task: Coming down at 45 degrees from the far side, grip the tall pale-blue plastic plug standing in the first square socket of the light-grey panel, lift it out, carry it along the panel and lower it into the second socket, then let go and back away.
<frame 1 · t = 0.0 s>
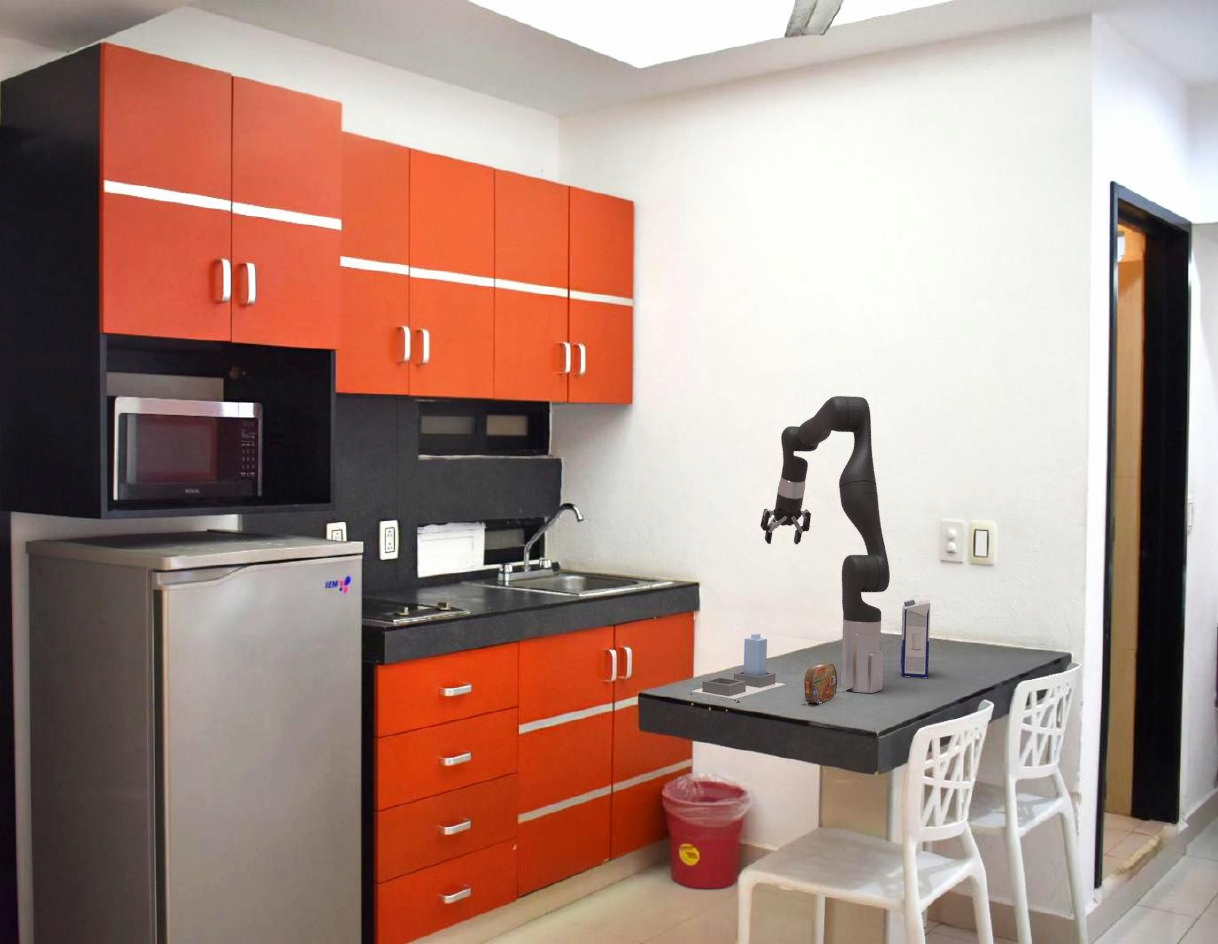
hand: (782, 543, 351), 31 cm above the table, tool tilted 20°, fingers open, 8 cm apart
tin: (819, 701, 281), on the table
panel: (739, 691, 289), on the table
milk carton: (913, 676, 317), on the table
plug: (754, 683, 295), point 1 cm above the table, touching panel
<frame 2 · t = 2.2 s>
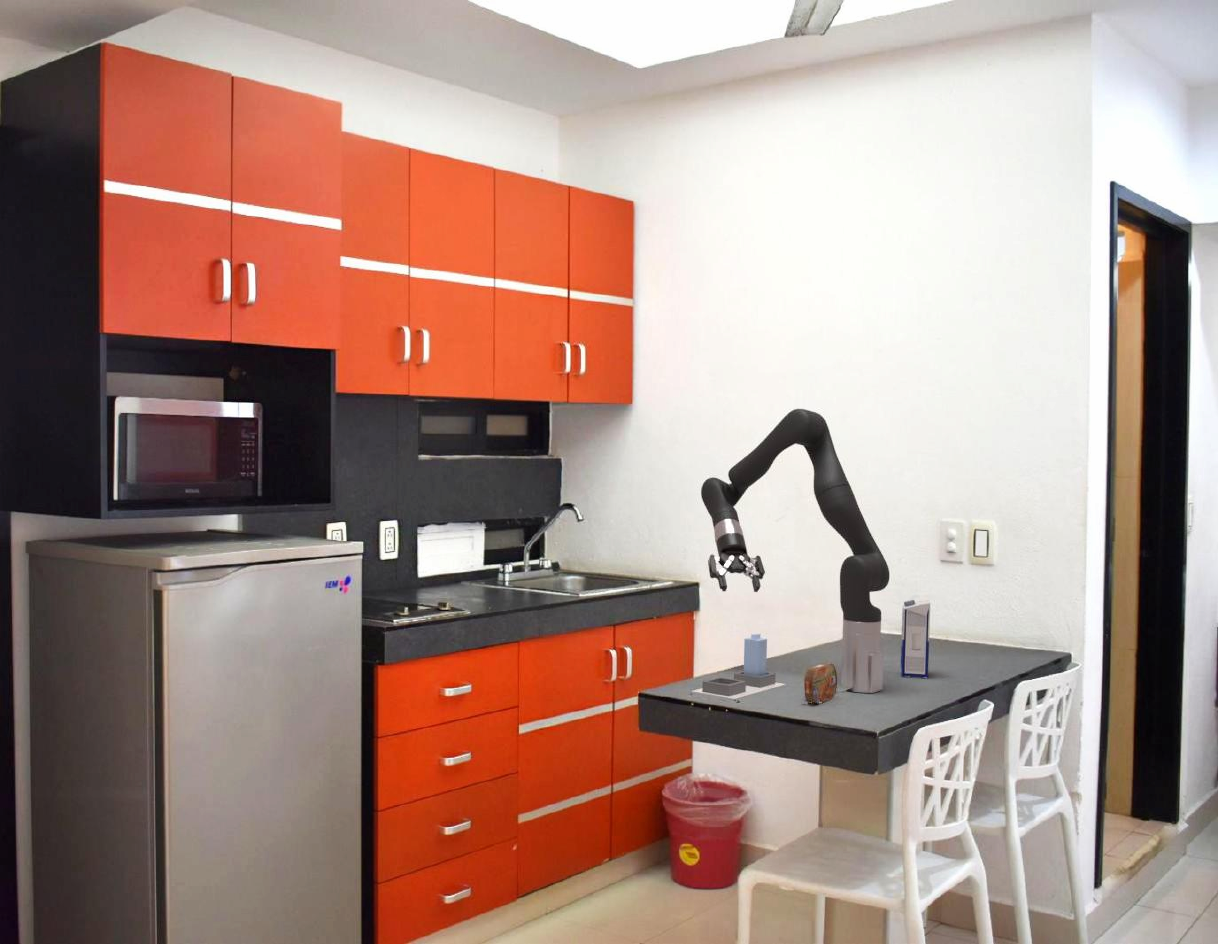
hand: (741, 590, 307), 23 cm above the table, tool tilted 45°, fingers open, 8 cm apart
nothing on the table moved.
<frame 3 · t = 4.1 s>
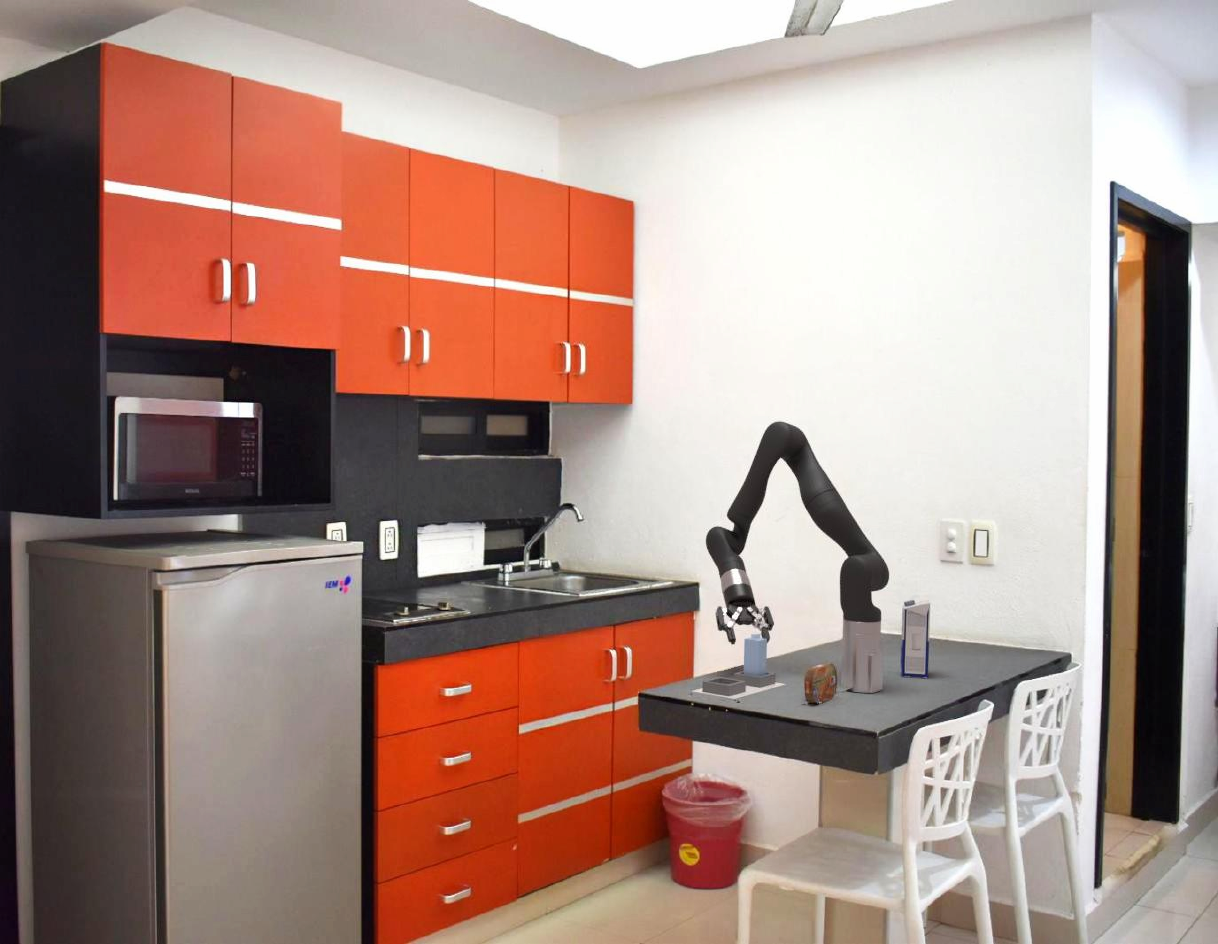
hand: (750, 642, 298), 10 cm above the table, tool tilted 45°, fingers open, 8 cm apart
nothing on the table moved.
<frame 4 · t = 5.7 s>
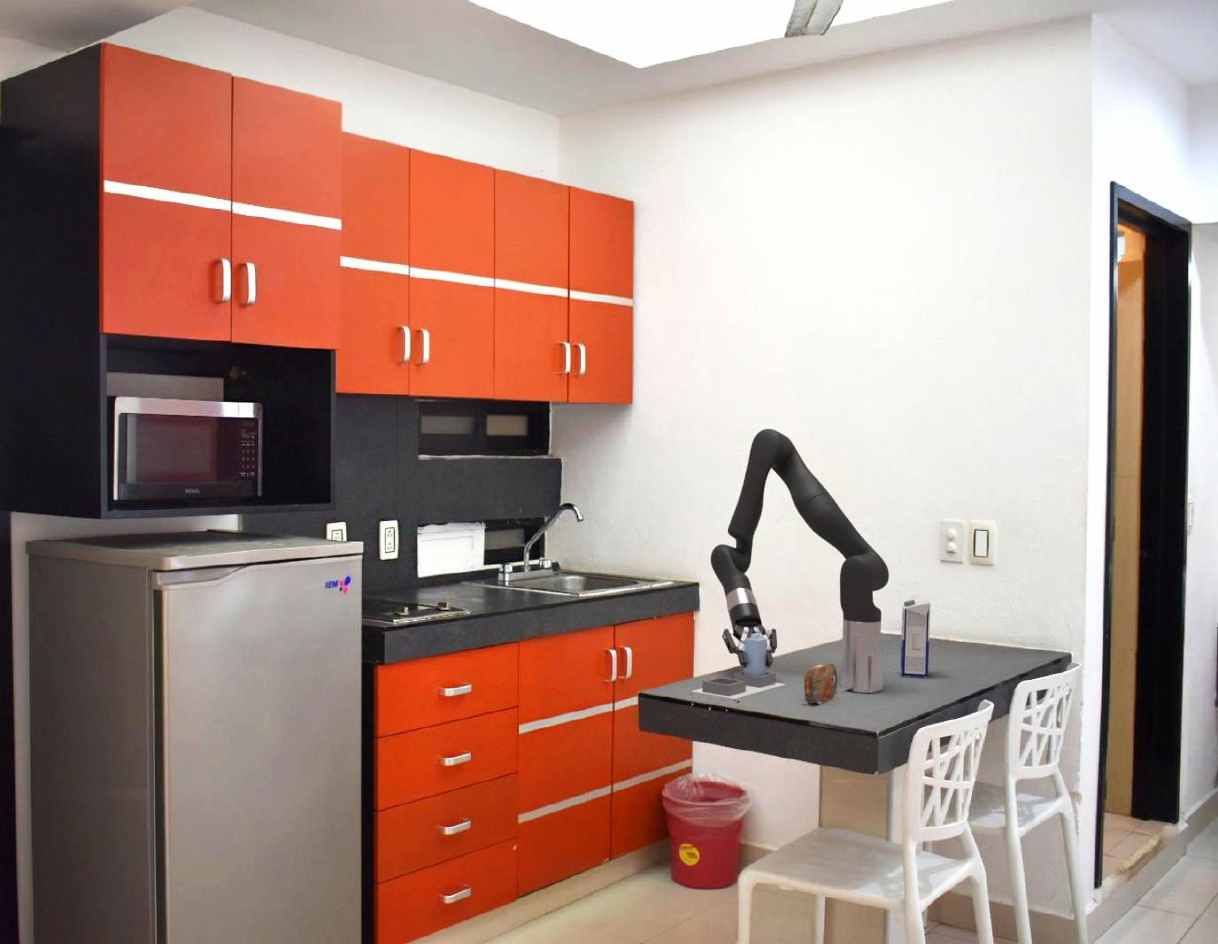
hand: (757, 665, 293), 6 cm above the table, tool tilted 45°, fingers closed on plug, 5 cm apart
plug: (754, 683, 295), point 1 cm above the table, touching gripper, panel
everything else where it was.
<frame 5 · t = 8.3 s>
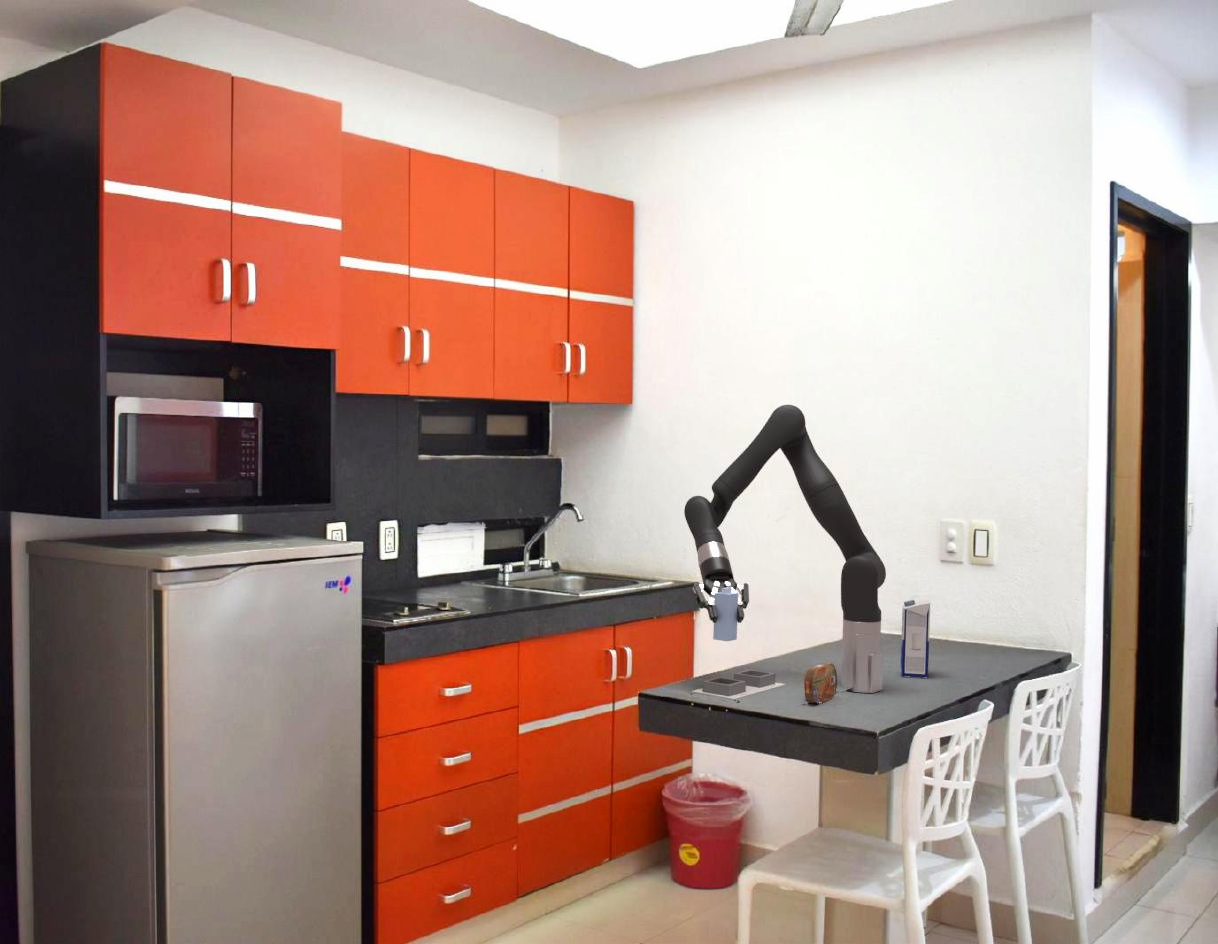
hand: (728, 620, 282), 18 cm above the table, tool tilted 45°, fingers closed on plug, 5 cm apart
plug: (724, 639, 283), point 13 cm above the table, touching gripper
everything else where it was.
when the fingers open (6 cm above the table, at t = 11.3 s): plug stays where it is, resting on panel.
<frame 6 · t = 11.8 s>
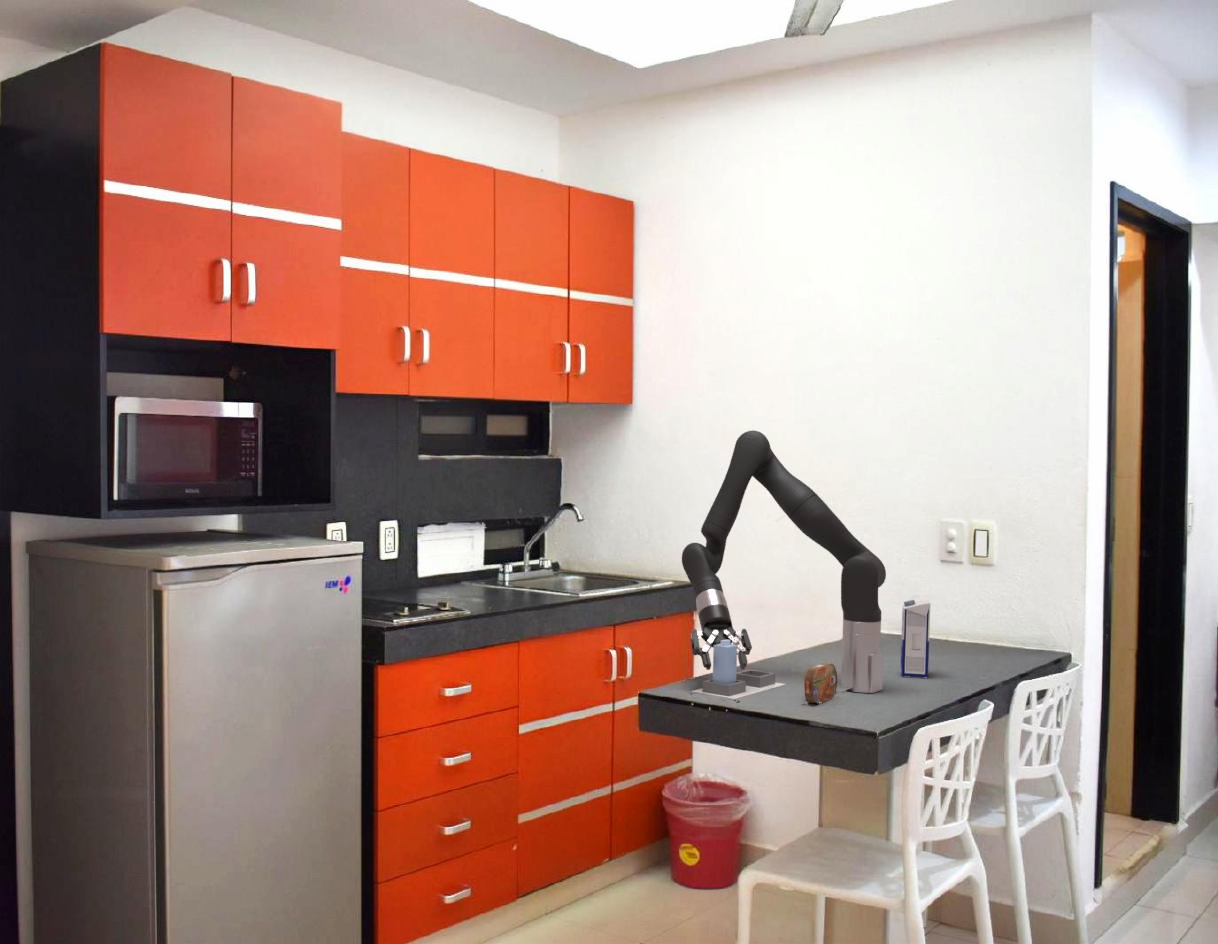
hand: (726, 667, 282), 7 cm above the table, tool tilted 45°, fingers open, 8 cm apart
plug: (724, 691, 284), point 1 cm above the table, touching panel
everything else where it was.
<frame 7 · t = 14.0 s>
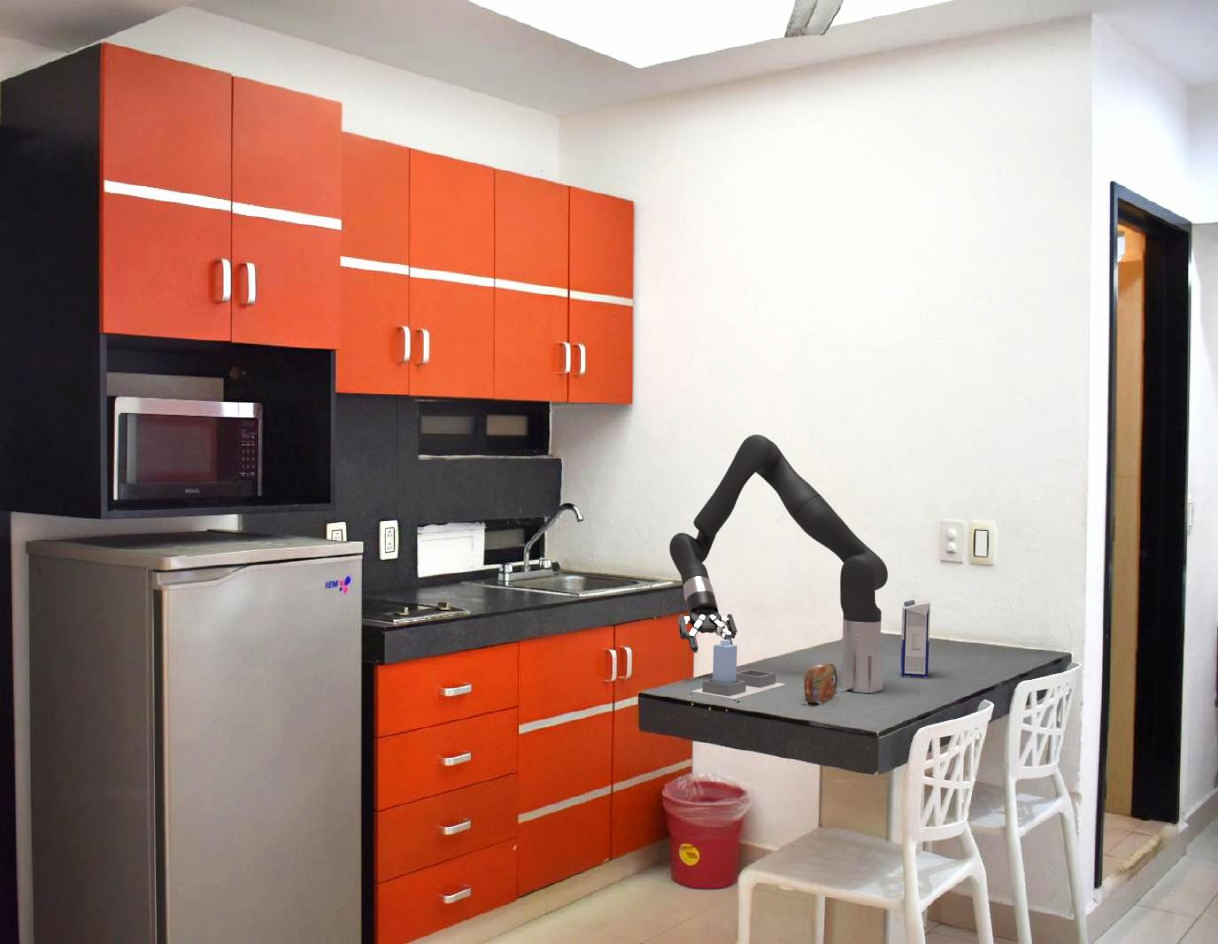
hand: (712, 650, 295), 9 cm above the table, tool tilted 45°, fingers open, 8 cm apart
nothing on the table moved.
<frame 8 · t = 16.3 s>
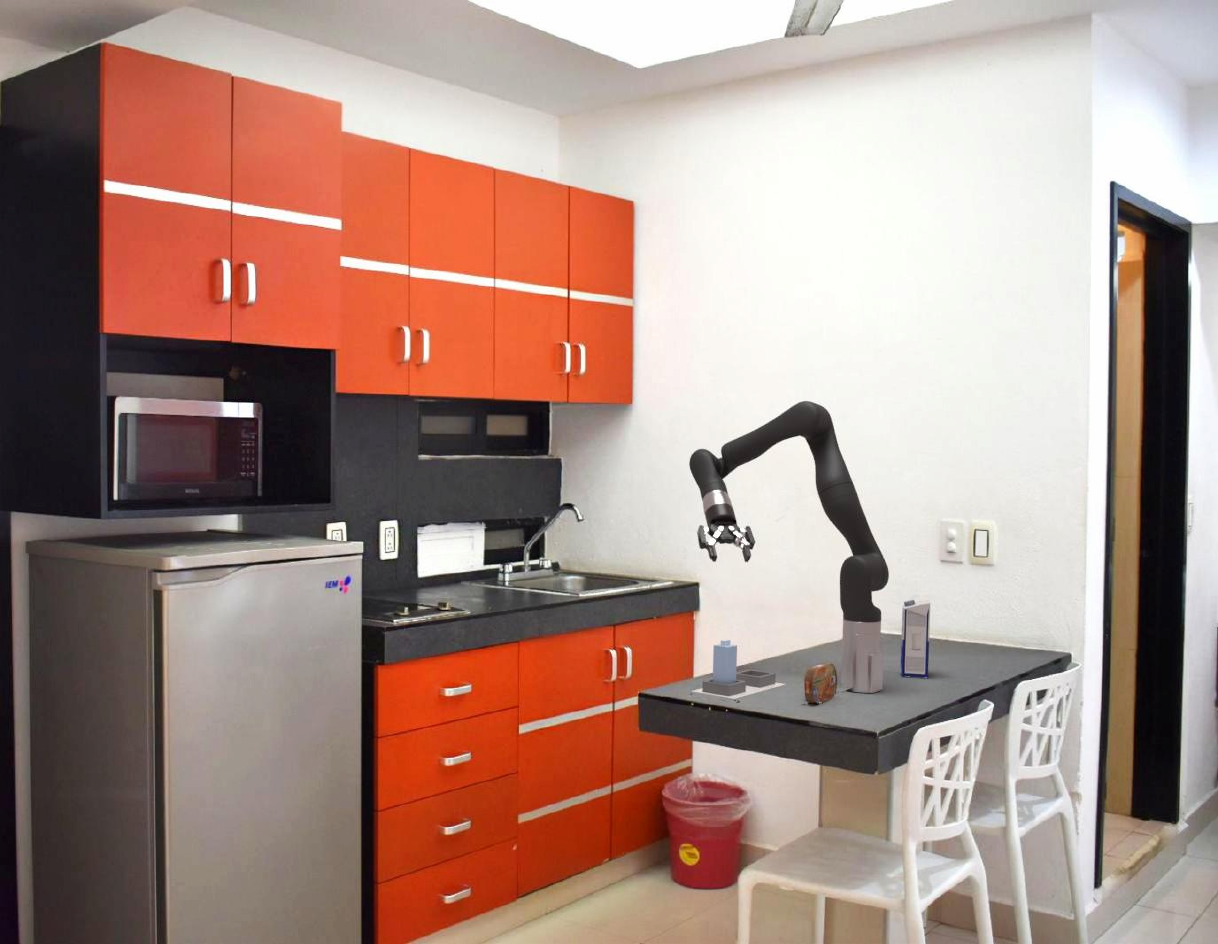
hand: (731, 559, 301), 31 cm above the table, tool tilted 45°, fingers open, 8 cm apart
nothing on the table moved.
at the end: plug 0.1 cm from the target spot on the panel, point 1.0 cm above the panel's base; plug tilted 0°; the gripper is holding nothing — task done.
